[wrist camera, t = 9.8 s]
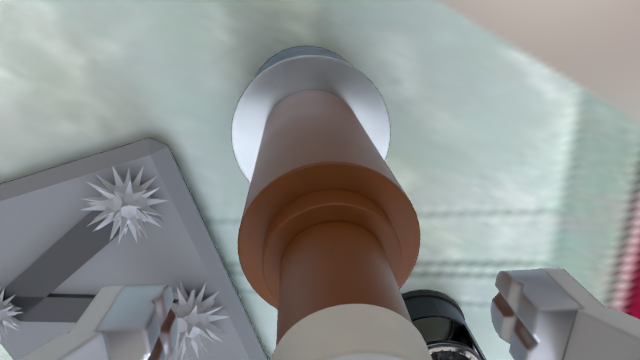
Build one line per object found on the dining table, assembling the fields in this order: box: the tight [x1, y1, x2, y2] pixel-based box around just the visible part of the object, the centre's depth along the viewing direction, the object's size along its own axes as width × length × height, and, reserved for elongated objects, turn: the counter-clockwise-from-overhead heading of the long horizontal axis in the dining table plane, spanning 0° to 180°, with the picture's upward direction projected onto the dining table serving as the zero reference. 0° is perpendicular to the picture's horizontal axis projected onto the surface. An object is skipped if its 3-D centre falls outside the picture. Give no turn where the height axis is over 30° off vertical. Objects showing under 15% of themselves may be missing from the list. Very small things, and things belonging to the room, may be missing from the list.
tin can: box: [231, 46, 391, 184], centre depth 28 cm, size 9×9×9 cm
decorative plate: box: [0, 138, 268, 360], centre depth 35 cm, size 30×22×7 cm
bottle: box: [238, 90, 432, 360], centre depth 15 cm, size 6×6×18 cm
